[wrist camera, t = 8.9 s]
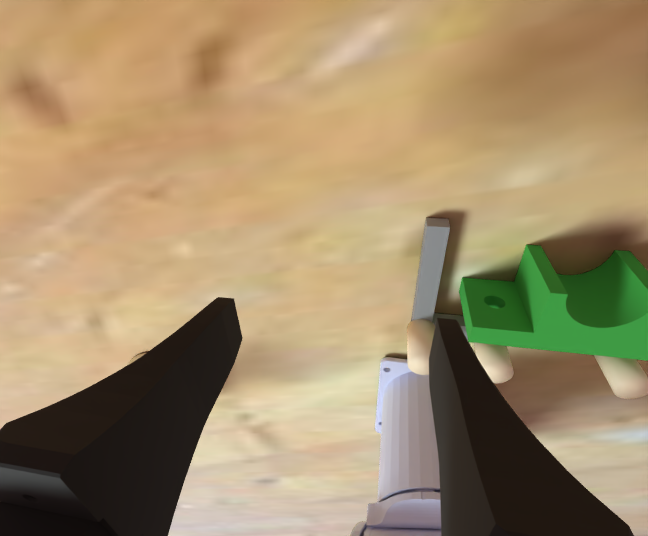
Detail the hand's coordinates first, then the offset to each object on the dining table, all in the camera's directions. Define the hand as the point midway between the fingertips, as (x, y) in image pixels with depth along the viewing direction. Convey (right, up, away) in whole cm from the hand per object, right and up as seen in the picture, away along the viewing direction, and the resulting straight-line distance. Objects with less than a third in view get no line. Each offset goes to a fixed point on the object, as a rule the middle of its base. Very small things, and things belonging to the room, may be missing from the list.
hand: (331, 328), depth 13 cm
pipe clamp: (+14, +2, +9) cm, 16 cm away
